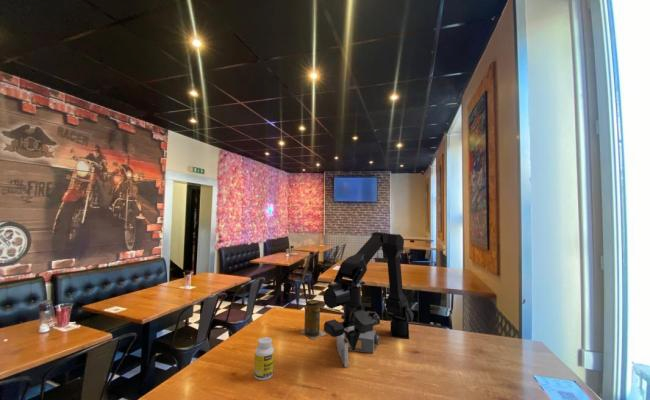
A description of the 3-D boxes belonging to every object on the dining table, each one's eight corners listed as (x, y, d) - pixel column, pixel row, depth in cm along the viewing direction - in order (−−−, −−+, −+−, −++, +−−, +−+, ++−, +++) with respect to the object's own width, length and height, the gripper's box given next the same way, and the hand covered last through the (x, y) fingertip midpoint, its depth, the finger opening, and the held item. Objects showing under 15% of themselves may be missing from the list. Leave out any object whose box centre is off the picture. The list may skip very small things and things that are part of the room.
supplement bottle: (263, 383, 73) (264, 346, 73) (250, 376, 75) (251, 341, 76) (277, 373, 77) (278, 338, 78) (263, 367, 80) (264, 334, 81)
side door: (347, 367, 81) (348, 343, 81) (342, 367, 80) (342, 343, 81) (340, 349, 92) (340, 328, 92) (335, 349, 91) (335, 328, 92)
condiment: (313, 327, 110) (314, 298, 111) (327, 334, 104) (327, 303, 105) (299, 332, 106) (299, 301, 107) (312, 339, 99) (312, 306, 100)
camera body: (379, 343, 97) (379, 323, 97) (376, 355, 88) (376, 333, 88) (342, 338, 101) (342, 318, 101) (336, 349, 92) (336, 327, 92)
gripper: (342, 314, 74) (343, 371, 73) (391, 302, 84) (392, 353, 83) (322, 303, 84) (323, 354, 83) (368, 293, 93) (369, 339, 92)
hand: (353, 350), depth 85 cm, fingers closed
